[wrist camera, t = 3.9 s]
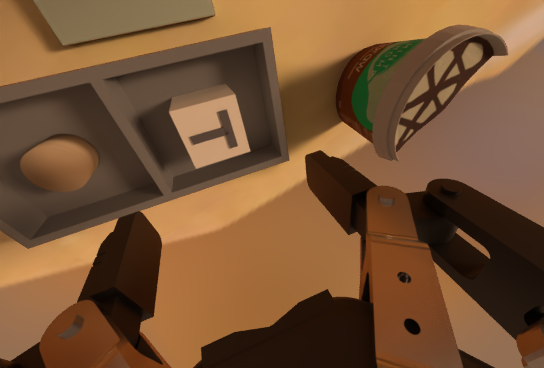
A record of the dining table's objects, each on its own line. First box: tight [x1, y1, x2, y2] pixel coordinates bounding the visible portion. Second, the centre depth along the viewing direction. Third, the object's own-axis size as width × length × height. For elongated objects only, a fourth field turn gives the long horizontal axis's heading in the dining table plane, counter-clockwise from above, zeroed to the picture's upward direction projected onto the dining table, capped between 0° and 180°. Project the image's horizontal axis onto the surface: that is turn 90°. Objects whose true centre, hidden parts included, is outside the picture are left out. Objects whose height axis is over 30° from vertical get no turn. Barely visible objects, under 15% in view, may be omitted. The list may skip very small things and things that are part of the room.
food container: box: [336, 25, 508, 161], centre depth 20 cm, size 12×6×10 cm, turn 141°
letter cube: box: [169, 84, 250, 169], centre depth 19 cm, size 5×5×5 cm
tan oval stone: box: [20, 134, 100, 192], centre depth 18 cm, size 4×4×3 cm
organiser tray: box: [0, 27, 289, 249], centre depth 19 cm, size 12×26×4 cm, turn 103°
